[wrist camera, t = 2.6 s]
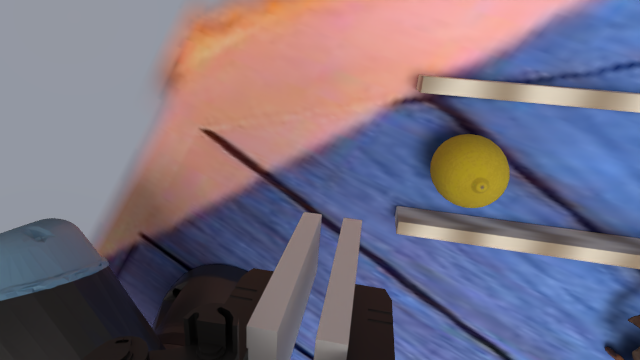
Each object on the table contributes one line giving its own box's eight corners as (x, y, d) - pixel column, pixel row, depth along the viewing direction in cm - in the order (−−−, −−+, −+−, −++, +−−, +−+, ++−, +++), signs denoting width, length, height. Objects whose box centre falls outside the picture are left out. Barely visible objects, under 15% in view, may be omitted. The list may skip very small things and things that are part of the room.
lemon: (474, 193, 31) (504, 234, 24) (415, 175, 31) (427, 210, 24) (500, 136, 29) (542, 161, 22) (438, 118, 29) (458, 137, 22)
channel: (394, 216, 33) (396, 233, 30) (418, 74, 29) (423, 76, 25) (680, 256, 30) (716, 280, 27) (758, 103, 25) (814, 109, 22)
